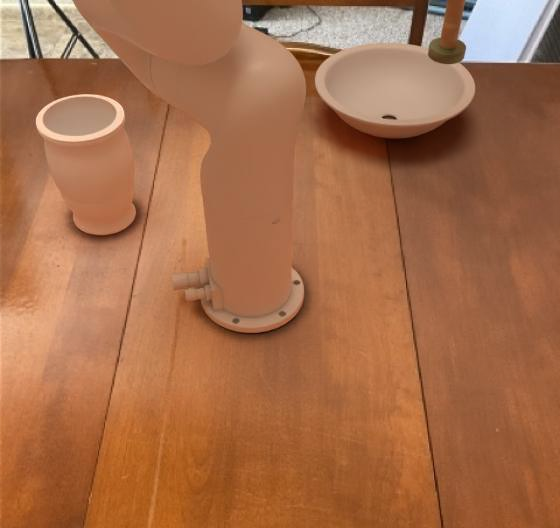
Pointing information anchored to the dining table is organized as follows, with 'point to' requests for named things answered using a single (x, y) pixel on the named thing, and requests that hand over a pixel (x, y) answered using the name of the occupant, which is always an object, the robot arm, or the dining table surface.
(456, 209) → the dining table surface
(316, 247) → the dining table surface
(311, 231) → the dining table surface
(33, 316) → the dining table surface
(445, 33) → the stamp with round base
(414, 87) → the beige sink basin
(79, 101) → the jar
